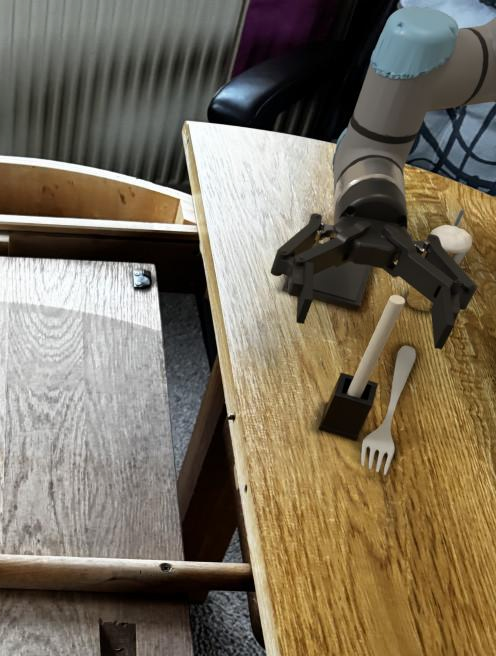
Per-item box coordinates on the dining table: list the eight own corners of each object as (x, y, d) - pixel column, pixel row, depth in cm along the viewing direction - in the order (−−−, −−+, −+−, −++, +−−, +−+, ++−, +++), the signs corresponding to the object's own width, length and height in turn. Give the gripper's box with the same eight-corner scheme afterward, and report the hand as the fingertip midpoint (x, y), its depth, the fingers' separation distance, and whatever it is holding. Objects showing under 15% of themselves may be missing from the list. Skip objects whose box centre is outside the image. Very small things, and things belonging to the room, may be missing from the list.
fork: (423, 351, 104) (430, 338, 102) (383, 488, 90) (390, 475, 89) (394, 342, 104) (401, 329, 103) (350, 477, 91) (357, 464, 90)
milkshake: (443, 295, 111) (483, 215, 103) (435, 319, 108) (476, 238, 100) (405, 283, 112) (442, 203, 103) (397, 307, 109) (434, 226, 101)
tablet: (371, 263, 114) (374, 256, 113) (357, 311, 107) (360, 305, 107) (299, 243, 115) (302, 236, 114) (281, 290, 109) (284, 283, 108)
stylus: (350, 416, 95) (406, 297, 84) (348, 425, 95) (404, 305, 83) (337, 412, 96) (391, 292, 84) (334, 421, 95) (389, 301, 84)
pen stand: (362, 417, 96) (379, 382, 93) (356, 441, 94) (373, 406, 91) (324, 406, 97) (340, 371, 93) (318, 429, 95) (333, 394, 91)
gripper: (467, 262, 105) (484, 379, 92) (248, 223, 106) (236, 333, 94) (500, 198, 99) (523, 314, 86) (267, 157, 100) (257, 266, 88)
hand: (374, 324), depth 90 cm, fingers open, 13 cm apart
